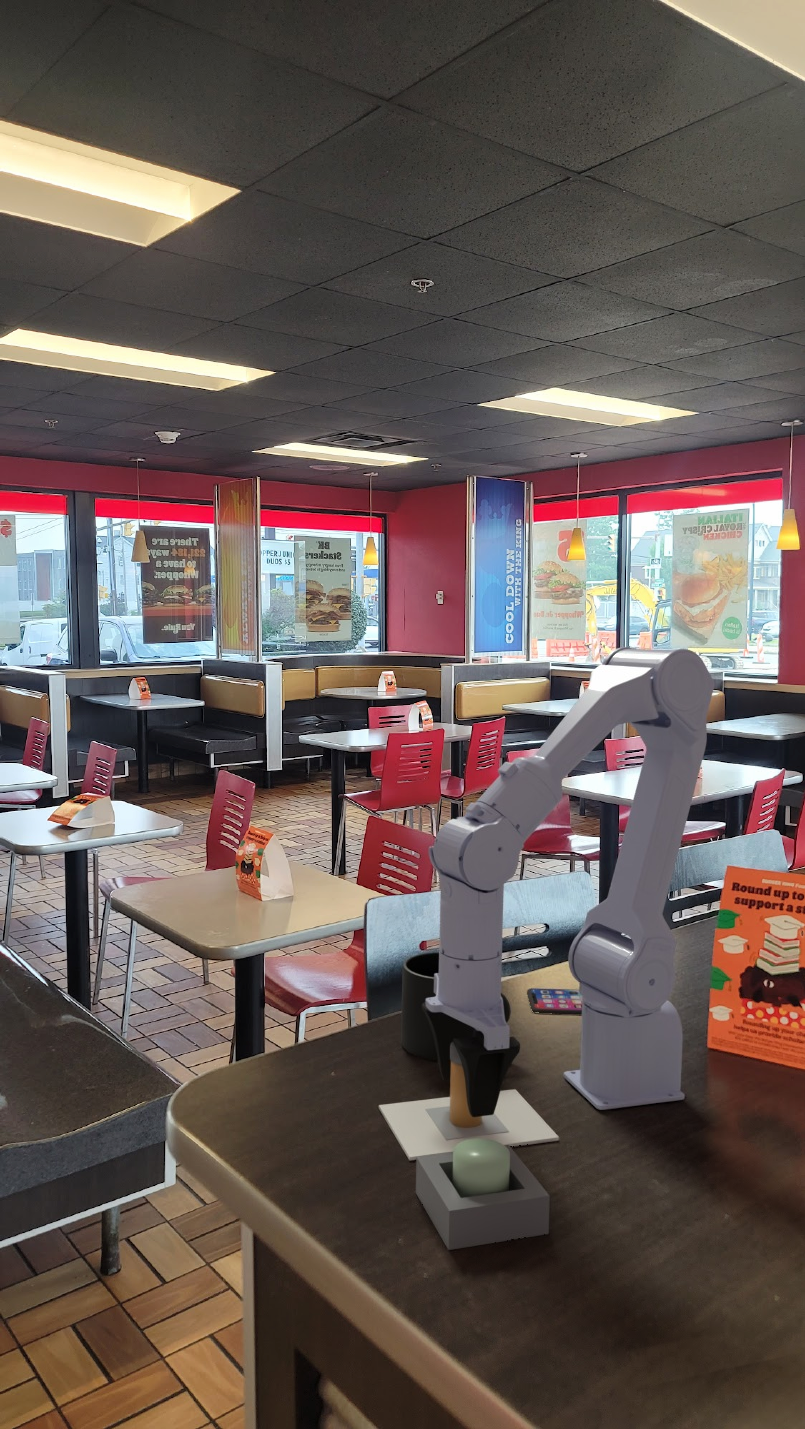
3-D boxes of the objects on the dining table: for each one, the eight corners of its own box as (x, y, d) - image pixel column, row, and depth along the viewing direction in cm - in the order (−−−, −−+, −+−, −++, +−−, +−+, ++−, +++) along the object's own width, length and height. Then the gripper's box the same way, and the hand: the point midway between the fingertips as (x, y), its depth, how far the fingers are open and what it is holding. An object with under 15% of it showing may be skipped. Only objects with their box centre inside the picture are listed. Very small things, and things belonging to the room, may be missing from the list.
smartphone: (658, 1013, 123) (532, 1009, 123) (658, 1020, 123) (531, 1017, 123) (645, 990, 130) (526, 987, 130) (645, 997, 130) (526, 994, 131)
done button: (496, 1171, 83) (497, 1135, 83) (517, 1200, 79) (518, 1162, 78) (444, 1178, 82) (445, 1142, 81) (463, 1208, 77) (464, 1170, 77)
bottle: (476, 1110, 97) (478, 1037, 96) (487, 1126, 94) (490, 1051, 93) (443, 1113, 96) (445, 1040, 95) (454, 1129, 93) (456, 1054, 92)
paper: (515, 1092, 102) (515, 1088, 102) (558, 1140, 92) (558, 1136, 92) (378, 1108, 98) (378, 1104, 98) (409, 1160, 88) (409, 1156, 88)
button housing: (507, 1179, 85) (508, 1144, 85) (548, 1233, 78) (549, 1195, 77) (415, 1192, 83) (416, 1156, 83) (448, 1249, 75) (449, 1210, 75)
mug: (499, 1072, 106) (501, 987, 105) (389, 1055, 110) (391, 972, 109) (518, 1038, 115) (520, 959, 114) (415, 1024, 119) (417, 947, 118)
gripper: (405, 931, 99) (402, 1067, 100) (455, 980, 86) (452, 1137, 87) (473, 926, 101) (470, 1060, 102) (534, 973, 88) (529, 1127, 89)
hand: (466, 1095), depth 95 cm, fingers open, 7 cm apart
